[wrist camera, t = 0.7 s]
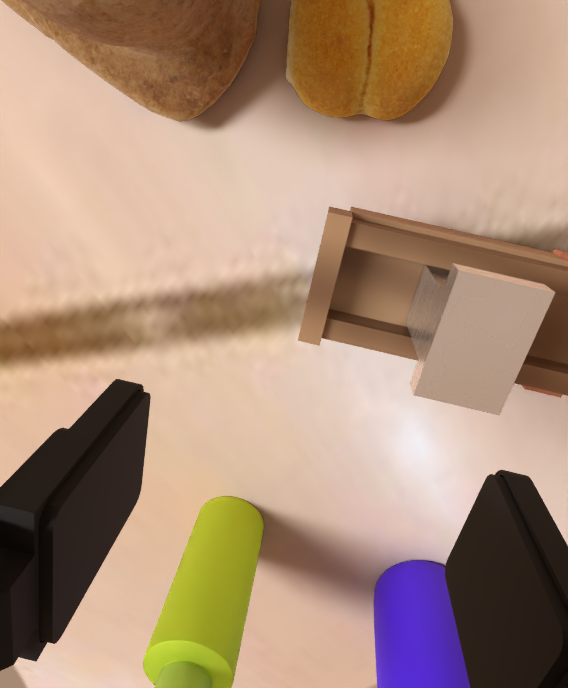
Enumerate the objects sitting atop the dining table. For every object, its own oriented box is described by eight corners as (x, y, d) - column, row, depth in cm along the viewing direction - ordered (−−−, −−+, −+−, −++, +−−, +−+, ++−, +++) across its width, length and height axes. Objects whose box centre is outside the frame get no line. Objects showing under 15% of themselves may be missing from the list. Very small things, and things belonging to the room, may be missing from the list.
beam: (332, 191, 31) (329, 207, 24) (759, 288, 30) (893, 336, 23) (307, 299, 34) (297, 343, 27) (695, 389, 33) (794, 460, 26)
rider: (433, 240, 25) (458, 270, 20) (507, 257, 25) (555, 292, 20) (399, 342, 28) (413, 395, 22) (467, 358, 28) (499, 415, 22)
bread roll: (434, 122, 29) (448, 120, 25) (285, 115, 30) (277, 112, 26) (461, -50, 26) (481, -81, 22) (292, -53, 26) (284, -83, 23)
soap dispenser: (237, 478, 41) (151, 756, 22) (275, 537, 43) (226, 835, 24) (180, 499, 42) (56, 775, 24) (219, 555, 44) (133, 847, 26)
